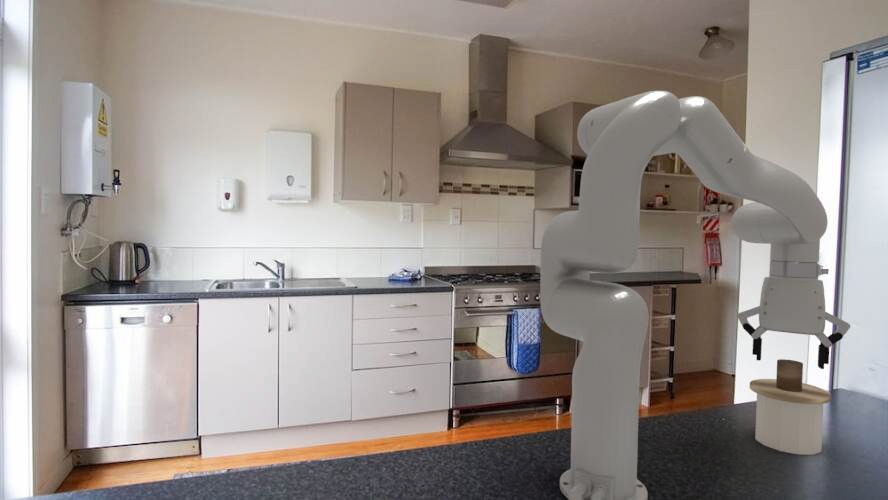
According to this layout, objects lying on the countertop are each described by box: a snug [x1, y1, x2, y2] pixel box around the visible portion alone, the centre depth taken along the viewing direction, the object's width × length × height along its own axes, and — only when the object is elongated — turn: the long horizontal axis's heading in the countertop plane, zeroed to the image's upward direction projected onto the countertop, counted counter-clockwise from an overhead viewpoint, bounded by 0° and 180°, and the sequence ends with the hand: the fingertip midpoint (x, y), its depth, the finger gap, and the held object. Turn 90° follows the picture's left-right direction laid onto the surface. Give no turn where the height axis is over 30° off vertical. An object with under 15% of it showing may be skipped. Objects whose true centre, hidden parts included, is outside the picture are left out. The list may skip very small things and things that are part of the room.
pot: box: [754, 393, 824, 456], centre depth 96 cm, size 10×10×10 cm
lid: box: [749, 358, 832, 405], centre depth 96 cm, size 13×13×6 cm
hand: (788, 363), depth 96 cm, fingers open, 9 cm apart
